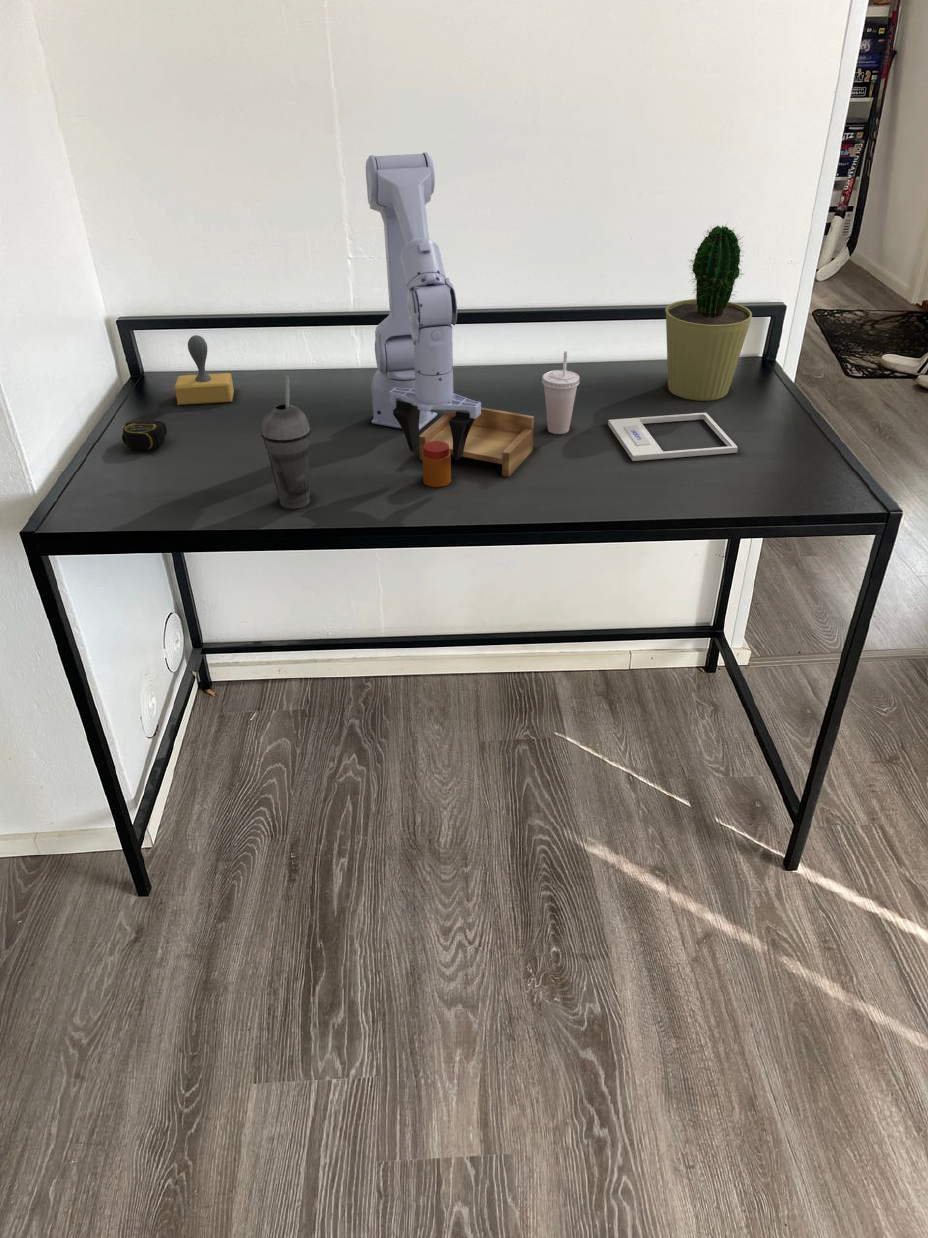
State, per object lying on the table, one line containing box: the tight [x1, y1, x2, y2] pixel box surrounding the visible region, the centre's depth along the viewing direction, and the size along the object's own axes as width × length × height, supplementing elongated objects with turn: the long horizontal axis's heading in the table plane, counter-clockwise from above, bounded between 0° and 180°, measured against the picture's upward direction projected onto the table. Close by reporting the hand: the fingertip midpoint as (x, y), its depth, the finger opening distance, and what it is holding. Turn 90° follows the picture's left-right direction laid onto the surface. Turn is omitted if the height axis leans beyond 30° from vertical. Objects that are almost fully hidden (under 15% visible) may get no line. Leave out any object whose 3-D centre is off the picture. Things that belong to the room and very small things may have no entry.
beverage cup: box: [260, 375, 312, 510], centre depth 140 cm, size 7×7×20 cm
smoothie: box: [541, 350, 580, 435], centre depth 162 cm, size 6×6×14 cm
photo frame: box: [607, 412, 739, 462], centre depth 162 cm, size 15×1×18 cm
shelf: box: [418, 406, 535, 478], centre depth 156 cm, size 16×11×6 cm, turn 65°
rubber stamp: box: [174, 334, 235, 406], centre depth 176 cm, size 10×6×12 cm, turn 97°
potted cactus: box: [664, 221, 753, 401], centre depth 172 cm, size 15×15×30 cm
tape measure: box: [121, 420, 168, 451], centre depth 161 cm, size 7×7×4 cm
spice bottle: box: [422, 441, 452, 488], centre depth 149 cm, size 4×4×6 cm
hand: (436, 452), depth 148 cm, fingers open, 7 cm apart
